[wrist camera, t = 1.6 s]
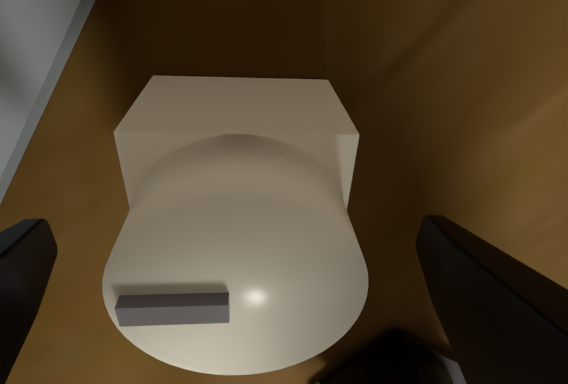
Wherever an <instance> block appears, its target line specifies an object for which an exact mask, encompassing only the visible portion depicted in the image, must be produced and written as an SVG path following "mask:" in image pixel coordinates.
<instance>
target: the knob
mask: <svg viewBox="0 0 568 384" xmlns="http://www.w3.org/2000/svg"><path fill="white" fill-rule="evenodd" d="M113 133H114V137H115V142H116V147H117V151H118V156H119V161H120V165H121V170H122V174H123V179H124V184H125V188H126V193H127V198H128V202H129V207H130V211H129V213H128V215H127V218H126V220H125V222H124V224H123V227H122V229H121V231H120V234H119V236H118V238H117V240H116V243H115V245H114V247H113V250H112V252H111V254H110V256H109V259H108V261H107V264H106V266H105V270H104V275H103V280H102V285H103V297H104V302H105V306H106V308H107V311H108V313H109V315H110V317H111V319H112V321H113V322H114V324H115V325H116V327H117V328H118V329H119V330H120V331H121V333H122V334H123V335H124V336H125V337H126V338H127V339H128V340H129V341H131V342H132V343H133V344H134V345H135V346H137V347H138V348H140V349H141V350H142V351H144V352H145V353H147V354H149V355H151V356H153V357H155V358H156V359H158V360H161V361H163V362H166V363H168V364H170V365H173V366H176V367H180V368H183V369H187V370H191V371H195V372H201V373H208V374H217V375H248V374H258V373H264V372H270V371H275V370H279V369H283V368H286V367H289V366H292V365H295V364H298V363H301V362H303V361H305V360H308V359H310V358H312V357H314V356H316V355H318V354H319V353H321V352H323V351H324V350H326V349H327V348H329V347H330V346H332V345H333V344H334V343H336V342H337V341H338V340H339V339H340V338H342V337H343V336H344V335H345V334H346V332H347V331H348V330H349V329H350V328H351V327H352V326H353V324H354V323H355V321H356V320H357V319H358V317H359V315H360V313H361V311H362V309H363V307H364V304H365V301H366V298H367V292H368V272H367V267H366V263H365V260H364V257H363V254H362V252H361V249H360V246H359V243H358V241H357V238H356V235H355V232H354V230H353V227H352V224H351V221H350V219H349V216H348V213H347V205H348V199H349V193H350V188H351V182H352V176H353V170H354V164H355V158H356V153H357V147H358V141H359V133H358V131H357V129H356V128H355V126H354V124H353V122H352V121H351V119H350V117H349V115H348V114H347V112H346V110H345V108H344V107H343V105H342V103H341V101H340V100H339V98H338V96H337V94H336V93H335V91H334V89H333V87H332V86H331V84H330V82H329V80H320V79H280V78H239V77H198V76H158V75H153V76H152V78H151V79H150V81H149V82H148V83H147V85H146V86H145V88H144V89H143V91H142V92H141V93H140V95H139V96H138V98H137V99H136V101H135V102H134V103H133V105H132V106H131V108H130V109H129V110H128V112H127V113H126V115H125V116H124V118H123V119H122V120H121V122H120V123H119V125H118V126H117V128H116V129H115V130H114V132H113Z"/></svg>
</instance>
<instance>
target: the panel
mask: <svg viewBox="0 0 568 384" xmlns="http://www.w3.org/2000/svg"><path fill="white" fill-rule="evenodd" d="M94 2H95V0H0V204H1V201H2V199H3V197H4V195H5V193H6V191H7V189H8V186H9V184H10V182H11V180H12V178H13V176H14V174H15V171H16V169H17V167H18V165H19V163H20V161H21V159H22V156H23V154H24V152H25V150H26V148H27V146H28V144H29V141H30V139H31V137H32V135H33V133H34V131H35V129H36V126H37V124H38V122H39V120H40V118H41V116H42V113H43V111H44V109H45V107H46V105H47V103H48V101H49V98H50V96H51V94H52V92H53V90H54V88H55V86H56V83H57V81H58V79H59V77H60V75H61V73H62V71H63V68H64V66H65V64H66V62H67V60H68V58H69V56H70V53H71V51H72V49H73V47H74V45H75V43H76V41H77V38H78V36H79V34H80V32H81V30H82V28H83V26H84V23H85V21H86V19H87V17H88V15H89V13H90V11H91V8H92V6H93V4H94Z"/></svg>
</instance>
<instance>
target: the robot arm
mask: <svg viewBox="0 0 568 384" xmlns="http://www.w3.org/2000/svg"><path fill="white" fill-rule="evenodd" d="M416 250H417V254H418V257H419V261H420V264H421V267H422V271H423V274H424V277H425V281H426V284H427V288H428V291H429V294H430V297H431V300H432V303H433V306H434V308H435V311H436V313H437V315H438V318H439V320H440V322H441V325H442V327H443V330H444V332H445V334H446V337H447V339H448V341H449V344H450V346H451V348H452V351H453V353H454V355H455V356H453V355H451V354H449V353H447V352H445V351H443V350H441V349H439V348H437V347H435V346H433V345H431V344H429V343H427V342H425V341H423V340H421V339H419V338H417V337H415V336H413V335H411V334H409V333H407V332H405V331H403V330H400V329H397V330H392V331H390V332H388V333H387V334H385V335H384V336H383V337H381V338H380V339H379V340H377V341H376V342H375V343H373V344H372V345H371V346H369V347H368V348H367V349H365V350H364V351H363V352H361V353H360V354H359V355H357V356H356V357H355V358H353V359H352V360H351V361H349V362H348V363H347V364H345V365H344V366H343V367H341V368H340V369H339V370H337V371H336V372H335V373H333V374H332V375H331V376H329V377H328V378H327V379H325V380H324V381H323V382H321V383H320V384H568V290H567V289H566V288H564V287H562V286H561V285H559V284H557V283H555V282H554V281H552V280H550V279H549V278H547V277H545V276H544V275H542V274H540V273H539V272H537V271H535V270H534V269H532V268H530V267H528V266H527V265H525V264H523V263H522V262H520V261H518V260H517V259H515V258H513V257H512V256H510V255H508V254H506V253H505V252H503V251H501V250H500V249H498V248H496V247H495V246H493V245H491V244H490V243H488V242H486V241H485V240H483V239H481V238H479V237H478V236H476V235H474V234H473V233H471V232H469V231H468V230H466V229H464V228H463V227H461V226H459V225H458V224H456V223H454V222H452V221H451V220H449V219H447V218H446V217H444V216H442V215H427V216H425V217H424V218H423V220H422V223H421V226H420V229H419V232H418V236H417V239H416ZM56 257H57V244H56V242H55V239H54V236H53V234H52V231H51V228H50V225H49V223H48V222H47V221H46V220H45V219H24V220H22V221H20V222H19V223H17V224H15V225H13V226H11V227H9V228H7V229H5V230H4V231H2V232H0V384H5V382H6V380H7V378H8V376H9V374H10V372H11V370H12V367H13V365H14V363H15V361H16V359H17V357H18V355H19V352H20V350H21V348H22V346H23V344H24V342H25V340H26V337H27V335H28V333H29V331H30V329H31V327H32V325H33V322H34V320H35V318H36V315H37V313H38V310H39V308H40V305H41V302H42V299H43V296H44V293H45V290H46V287H47V284H48V281H49V278H50V275H51V272H52V269H53V266H54V263H55V260H56Z"/></svg>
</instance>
